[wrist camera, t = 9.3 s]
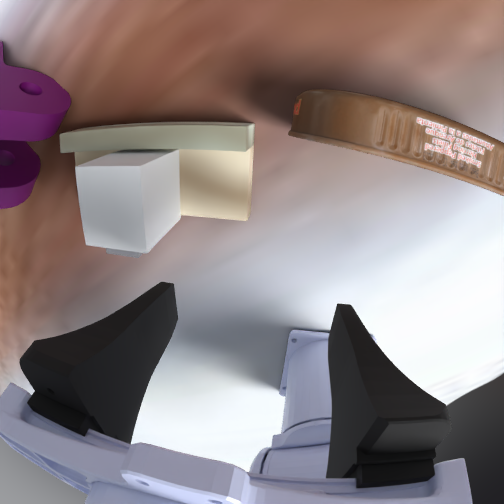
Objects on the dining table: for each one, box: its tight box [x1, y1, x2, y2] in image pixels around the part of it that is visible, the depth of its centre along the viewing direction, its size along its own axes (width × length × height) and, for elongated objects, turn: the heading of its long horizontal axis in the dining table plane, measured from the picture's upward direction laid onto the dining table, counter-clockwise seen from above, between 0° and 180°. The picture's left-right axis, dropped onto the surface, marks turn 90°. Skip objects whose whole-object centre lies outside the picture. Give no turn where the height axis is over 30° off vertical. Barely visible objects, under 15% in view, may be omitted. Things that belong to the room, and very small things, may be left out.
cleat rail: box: [59, 122, 255, 221], centre depth 20 cm, size 6×14×3 cm, turn 87°
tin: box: [288, 89, 504, 196], centre depth 14 cm, size 15×3×8 cm, turn 83°
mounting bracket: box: [0, 41, 71, 209], centre depth 19 cm, size 9×8×18 cm
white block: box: [75, 149, 181, 258], centre depth 19 cm, size 6×4×6 cm
